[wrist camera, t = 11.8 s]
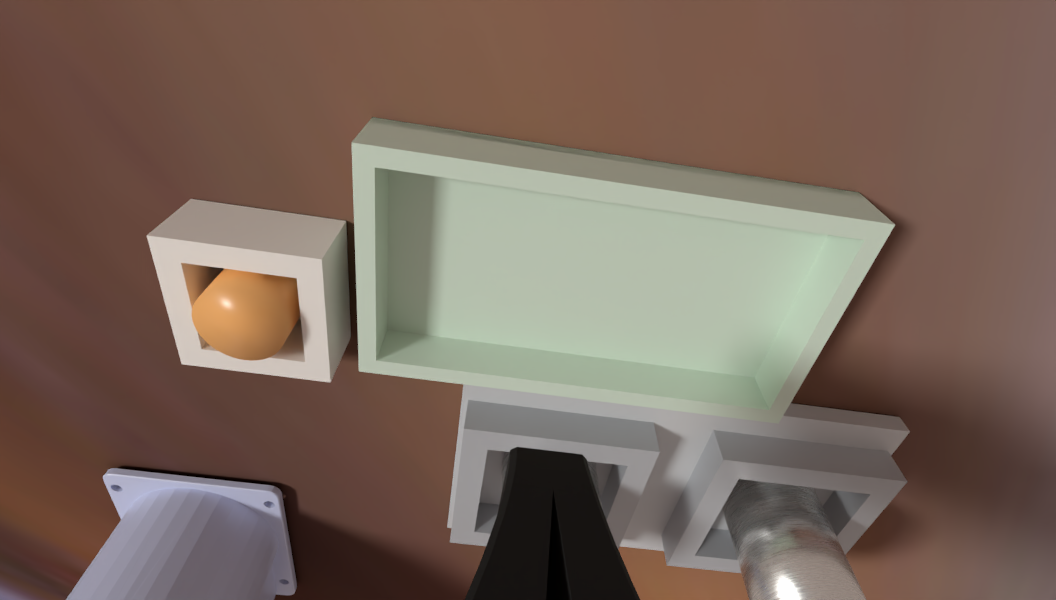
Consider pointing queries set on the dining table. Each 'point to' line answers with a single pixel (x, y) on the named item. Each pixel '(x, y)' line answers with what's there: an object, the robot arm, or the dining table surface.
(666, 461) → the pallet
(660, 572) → the dining table surface
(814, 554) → the cylinder
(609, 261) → the tray
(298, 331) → the button housing
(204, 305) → the button cap
